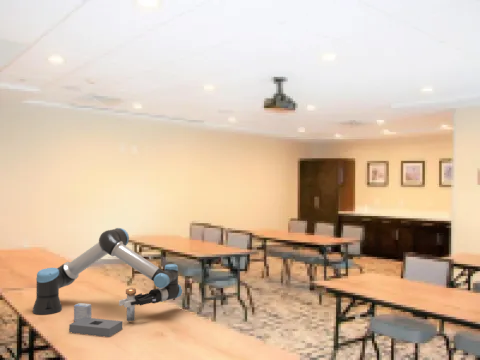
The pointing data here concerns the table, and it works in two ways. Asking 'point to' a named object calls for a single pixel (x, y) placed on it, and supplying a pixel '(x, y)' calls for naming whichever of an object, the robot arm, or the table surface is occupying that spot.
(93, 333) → the socket block
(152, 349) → the table surface
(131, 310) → the plug
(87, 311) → the medicine box
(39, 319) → the table surface
